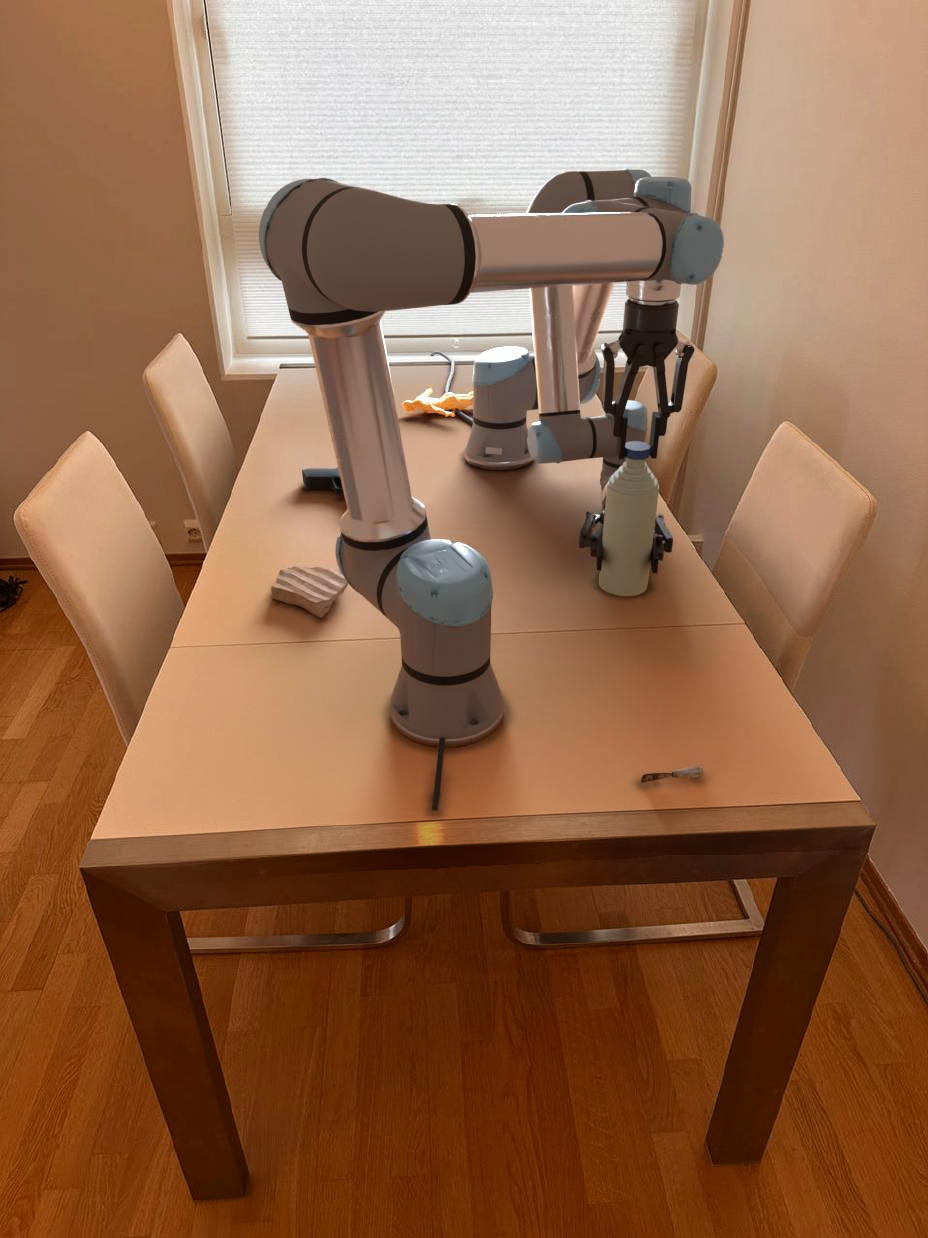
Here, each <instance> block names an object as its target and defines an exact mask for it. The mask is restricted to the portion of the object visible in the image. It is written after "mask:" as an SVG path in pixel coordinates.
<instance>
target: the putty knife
mask: <svg viewBox="0 0 928 1238" xmlns="http://www.w3.org/2000/svg"><path fill="white" fill-rule="evenodd" d="M704 772H705V771H704V768H702V767H701V766H697V765H695V766H688V767H683V768H679V769H675V770H673V771H671V772H653V773H652V772H651V773H650V772H649V773H644V774H642V776H641V779H640V783H642V784H645V783H648V782H653V781H659V780H665V779H668V778H673V779H674V778H675V779H693V778H694V779H695V778H700V777H702V776H703V775H704Z"/></svg>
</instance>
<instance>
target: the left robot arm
mask: <svg viewBox="0 0 928 1238" xmlns="http://www.w3.org/2000/svg"><path fill="white" fill-rule="evenodd" d="M691 207H692V184H691V182H690V181H689V180H688V179H686V178H683V177H676V176H652V177H645V178H641V179H639V180H638V181H637V183H636V186H635V192H634V193H633V197H631V198H626V199H613V200H601V201H591V200H588V201H586V202H583V203H577V204H573V205H571V206H569V207H568V208H566V209H565V210H564V212H563V213H561V214H526V213H506V214H505V213H504V214H503V213H502V214H501V213H499V214H498V213H497V214H468V213H467V212H466V210H465V209H464V208H462V207H461V206H460V205H458V204H455V203H429V202H423V201H418V200H413V199H407V198H404V197H401V196H397V195H394V194H393V195H392V194H389V193H385V192H382V191H379V190H375V189H371V188H365V187H361V186H356V185H351V184H346V183H343V182H339V181H337V180H334V179H331V178H327V177H319V178H301V179H297V180H293V181H291V182H290V183H287V184H285V185H284V186H282V187H281V188H279V190H277V191H276V192H275V193H274V194H273V196H271V198H270V200H269V201H268V202H267V205H266V207H265V208H264V209H263V212H262V214H261V218H260V223H259V228H258V243H259V248H260V253H261V256H262V259H263V260H264V262H265V264H266V266H267V267H268V269H269V270H270V272H271V273H272V275H273V276H274V277H275V278H276V279H278V281H280V282H281V284H282V288H283V292H284V297H285V300H286V306H287V310H288V313H289V317H290V321H291V322H292V324H294V325H296V326H297V327H299V328H300V329H302V330H303V331H304V332H306V334H307V336H308V341H309V346H310V350H311V353H312V354H311V355H312V358H313V362H314V366H315V371H316V376H317V380H318V386H319V389H320V393H321V398H322V404H323V407H324V411H325V416H326V420H327V424H328V429H329V433H330V438H331V442H332V446H333V451H334V455H335V460H336V464H337V467H338V469H339V474H340V478H341V482H342V487H343V491H344V494H343V496H344V499H345V500H344V501H345V504H346V510H345V511H344V513H343V514H342V515H341V517H340V518H339V530H340V535H338V536H337V538H336V542H335V549H334V550H335V551H334V552H335V554H334V555H335V561H336V564H337V567H338V570H340V571H341V573H342V575H343V576H344V578H345V579H346V581H347V582H348V586H350V587H351V588H352V589H353V590H354V591H355V592H356V593H357V594H359V595H360V596H362V597H363V598H364V599H365V600H366V601H367V602H369V603H370V604H371V605H372V606H373V607H374V608H375V609H376V610H378V612H380V613H381V614H382V615H383V616H384V617H385V618H387V619H388V620H389V622H391V623H392V624H393V625H394V626H395V627H396V628H397V630H398V631H399V635H400V655H401V667H400V669H399V672H398V675H397V678H396V681H395V684H394V687H393V690H392V693H391V696H390V718H391V721H392V724H393V725H394V727H395V728H396V729H397V731H398V732H399V733H400V734H402V735H403V736H404V737H406V738H407V739H409V740H411V741H413V742H415V743H417V744H420V745H421V744H422V745H425V746H430V747H437V749H438V750H437V757H436V758H437V759H436V768H435V776H434V777H435V778H434V788H433V794H432V795H433V796H432V803H431V809H432V810H433V811H438V810H439V803H440V795H441V787H442V786H441V784H442V776H443V775H442V774H443V766H444V765H443V764H444V755H445V748H454V747H455V748H457V747H463V746H467V745H471V744H473V743H476V742H480V741H481V740H483V739H485V738H486V737H488V736H489V735H491V734H492V733H493V732H494V731H495V730H496V729H498V727H499V726H500V724H501V722H502V720H503V717H504V697H503V693H502V690H501V687H500V685H499V682H498V679H497V677H496V674H495V672H494V668H493V666H492V664H491V654H492V653H491V651H492V649H491V648H492V647H491V645H492V608H493V607H492V605H493V599H494V590H493V583H492V574H491V568H490V566H489V564H488V563H487V560H486V559H485V558H484V556H482V555H481V553H479V551H477V550H476V549H474V548H473V547H471V546H469V545H467V544H465V543H462V542H455V543H452V541H451V540H450V539H442V538H438V539H435V538H434V539H432V537H431V533H430V527H429V521H428V520H429V519H428V515H427V509H426V507H425V505H424V503H422V502H421V501H420V500H419V499H417V498H415V497H413V496H412V490H411V485H410V479H409V473H408V467H407V462H406V456H405V455H406V454H405V450H404V445H403V439H402V433H401V427H400V421H399V417H398V416H399V415H398V410H397V404H396V398H395V394H394V393H395V391H394V386H393V382H392V376H391V370H390V364H389V359H388V354H387V347H386V343H385V342H386V341H385V336H384V335H385V334H384V331H383V324H382V318H383V317H384V316H385V315H386V313H387V312H390V311H391V312H392V311H400V310H401V311H402V310H410V309H420V308H430V307H438V306H439V307H440V306H452V305H458V304H461V303H463V302H464V301H466V299H467V298H469V295H470V294H472V293H486V292H500V291H501V292H503V291H517V290H528V289H531V288H545V287H559V286H573V285H588V284H602V283H615V284H617V283H626V288H625V296H626V297H628V299H626V300H625V302H624V309H623V311H624V312H623V320H622V321H623V323H622V330H621V333H620V334H619V336H618V339H617V340H614V341H612V342H610V343H607V342H603V343H601V345H600V352H601V354H602V357H603V369H602V370H603V371H602V372H603V373H602V389H601V404H600V405H601V409H602V410H603V412H604V413H605V414H606V413H610V414H612V415H613V420H612V433H613V435H614V437H618V438H617V449H616V453H617V455H618V458H619V459H624V455H625V444H626V434H627V424H628V417H627V415H626V414H625V412H624V411H625V408H626V405H627V402H628V400H629V398H630V395H631V392H632V389H633V385H634V382H635V380H636V377H637V375H638V373H639V370H640V368H644V367H647V366H648V367H651V368H652V370H653V379H654V385H655V397H656V403H657V410H658V411H652V413H651V423H650V431H649V441H648V444H649V445H650V447H651V448H650V456H649V457H650V458H651V460H653V459H654V460H655V459H657V457H658V452H659V451H658V450H659V441H660V437H665V436H666V434H667V427H668V421H669V420H668V419H669V418H670V417H671V415H672V414H673V413H680V412H681V411H682V409H683V402H684V395H685V390H686V382H687V375H688V368H689V363H690V360H691V359H692V358H693V355H694V353H695V347H694V346H693V345H692V344H691V343H690V342H689V341H685V342H684V341H682V340H680V339H679V338H678V335H677V325H678V317H679V308H680V303H679V302H678V301H677V299H679V298H680V297H681V289H682V285H683V284H684V285H692V286H694V285H695V286H696V285H699V284H702V283H704V282H706V281H707V280H708V279H710V278H711V277H712V276H713V275H714V273H715V272H716V270H717V269H718V267H719V266H720V263H721V261H722V257H723V255H722V254H723V252H724V249H723V248H724V247H725V238H724V233H723V230H722V228H721V226H720V224H719V223H718V222H717V221H716V220H714V219H713V218H711V217H709V216H703V215H700V214H698V212H697V213H696V212H691V210H692V208H691ZM620 349H621V350H622V352H623V353H624V355H625V357H626V358H627V359H626V362H625V365H624V366H625V367H624V371H623V374H622V376H621V377H622V378H621V380H620V384H619V387H618V391H617V393H616V396H615V400H614V385H615V370H616V363H615V362H616V361H615V359H616V358H617V357H618V356H619V350H620ZM674 350H675V355H676V360H675V366H674V372H673V380H672V388H671V394H670V401H669V395H668V388H667V387H668V386H667V377H666V359H668V357H669V355H671V353H672V352H673V351H674ZM613 400H614V401H613ZM612 402H615V403H614V404H613V403H612Z"/></svg>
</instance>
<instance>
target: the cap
mask: <svg viewBox="0 0 928 1238" xmlns="http://www.w3.org/2000/svg"><path fill="white" fill-rule="evenodd" d="M650 448H651V447H650V445H649V443H647V442H646V441H645V442H640V441H631V442H627V443H626V444H625V455H624V456H625V457H626V458H629V459H633V460H643V459H645V460H647V459H648V458H650V457H651V456H650Z"/></svg>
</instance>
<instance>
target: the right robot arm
mask: <svg viewBox="0 0 928 1238" xmlns="http://www.w3.org/2000/svg"><path fill="white" fill-rule="evenodd" d="M645 177H653V175H651V174H650V173H649V172H648V171H646V170H645V169H632V168H631V169H630V168H628V167H625V168H623V169H616V170H613V169H611V170H567V171H563V172H559V173H558V174H555V175H553V176H552V177H550V178H549V179H548V180H547V181H546V182H544V184H542V186H540V188H539V189H538V190H537V192H536V193H535V195H534V196H533V198H532V200H531V202H530V204H529V205H528V208H527V210H526V212H525V214H561V213H563V212H564V210H565V209H566V208H568V207H569V206H571V205H573V204H577V203H583V202H586V201H588V200H591V201H601V200H613V199H626V198H631V197H633V193H634V192H635V186H636V183H637V181H638V180H639V179H641V178H645ZM615 284H616V283H602V284H588V285H573V286H559V287H545V288H531V289H529V290H528V291H529V303H530V304H529V305H530V316H531V328H532V329H531V330H532V342H533V343H532V344H533V353H529V351H528V349H526V348H524V347H521V346H501V347H495V348H492V349H489V350H486V351H484V352H482V353H481V354H479V355H478V356H477V357H476V358H475V360H474V362H473V369H472V370H473V371H472V378H471V382H472V392H473V405H472V417H470V416H469V415H466V414H465V413H463V412H462V410H458V409H455V410H453V411H455V412H454V413H456V414H457V415H458V416H459V417H461V418H462V419H464V420H465V421H467V422H468V423H470V424H472V426H471V428H470V431H469V435H468V438H467V441H466V444H465V448H464V459H465V461H466V462H467V463H468V464H470V465H471V466H474V467H476V468H479V469H483V470H490V471H510V470H515V469H516V470H517V469H520V468H523V467H526V466H528V465H530V464H531V463H533V462H535V463H537V464H538V465H543V464H561V463H564V462H572V461H581V460H589V459H599V458H602V466H601V471H600V478H599V484H600V488H601V512H600V513H599V514H595V513H594V512H592V511H591V510H586V511H585V513H584V523H583V525H582V527H581V529H580V532H579V538H578V548H579V549H586V548H588V549H589V550H588V554H589V556H590V558H595V559H596V561H595V563H596V564H595V565H596V572H597V571H598V572H600V571H601V568H602V557H603V554H602V538H603V526H604V515H605V503H606V492H607V483H608V481H609V480H610V477H611V476H612V475H613V474H614V473H615V471H617V470H618V469H619V467H620V466H622V465H623V463H624V462H625V461H626V457H625V456H624V459H619V458H618V455H617V453H616V449H617V438H618V437H614V435H613V433H612V420H613V415H612V414H610V413H605V415H595V416H585V417H582V414H581V405H585V404H588V403H589V402H591V401H592V400H593V399H594V397H595V396H596V394H597V392H598V390H599V386H600V383H601V379H600V376H601V372H602V371H601V370H602V369H601V363H600V358H599V357H598V355H597V354H596V353H597V352H596V351H595V349H594V347H595V343H596V340H597V337H598V334H599V331H600V329H601V326H602V322H603V319H604V317H605V314H606V311H607V308H608V305H609V302H610V299H611V296H612V293H613V291H614V287H615ZM435 355H438V356H441V357H442V358H443V359H446V360H447V362H450V372H449V374H448V379H447V381H446V384H445V389H444V394H446V393H450V387H451V383H452V380H453V377H454V374H455V366H456V364H455V361H454V359H452V357H450V356H449V355H448V354H446V353H444V352H442V351H439V350H433V351H432V352H431V354H430V356H429V357H434V356H435ZM612 403H613V404H614V403H615V401H613V402H612ZM536 410H538V420H537V421H536V422H533V423H531V424H530V425H529V426H527V415H528V412H529V411H536ZM624 412H625V414H626V415H627V417H628V424H627V434H626V443H627V442H631V441H640V442H645V443H646V439H647V432H648V408H647V407H646V405H644V404H643V403H641V402H640V401H636V400H632V399H628V402H627V405H626V408H625V411H624ZM664 518H665V516H664V514H659V513H658V514H656V519H655V528H654V536H653V544H652V552H651V561H650V567H651V574H655V575H658V569H659V561H663V560H664V555H665V553H666V554H667V553H668V554H670V553H672V552H673V546H674V545H673V544H674V537H673V535H672V533H671V531H670V530H669V528H668V526H667V525H666V523H665V521H664ZM598 523H599V524H600V526H599V527H598V528H597V529H596V530H594V528H596V525H598ZM593 530H594V532H593Z"/></svg>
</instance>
